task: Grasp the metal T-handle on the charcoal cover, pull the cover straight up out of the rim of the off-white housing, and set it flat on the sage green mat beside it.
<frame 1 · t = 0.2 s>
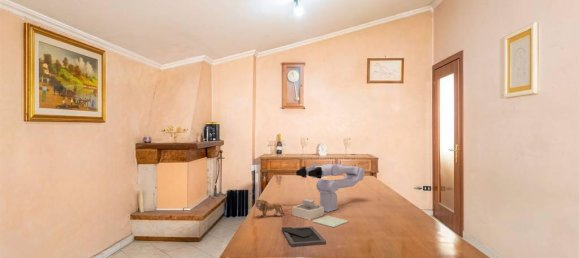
hand: (302, 173, 153), 21 cm above the table, tool horizontal, fingers open, 7 cm apart
picture frame: (302, 238, 126), on the table
housing: (308, 215, 157), on the table
grey cover: (308, 209, 156), point 3 cm above the table, touching housing
sage mat: (330, 221, 146), on the table
lion figurine: (269, 217, 154), on the table
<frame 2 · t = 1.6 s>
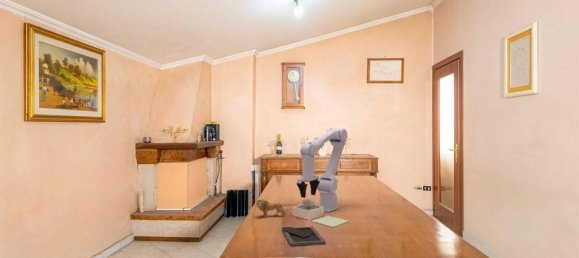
hand: (308, 196, 156), 9 cm above the table, tool pointing down, fingers open, 7 cm apart
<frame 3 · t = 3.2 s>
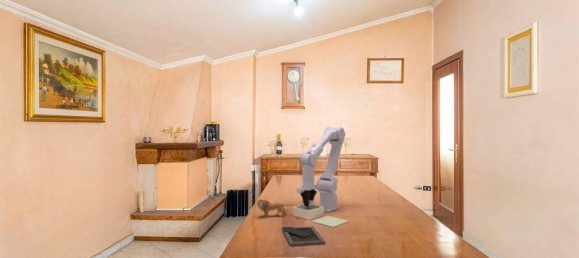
hand: (308, 205, 156), 5 cm above the table, tool pointing down, fingers closed on grey cover, 2 cm apart
grey cover: (308, 209, 156), point 3 cm above the table, touching gripper, housing
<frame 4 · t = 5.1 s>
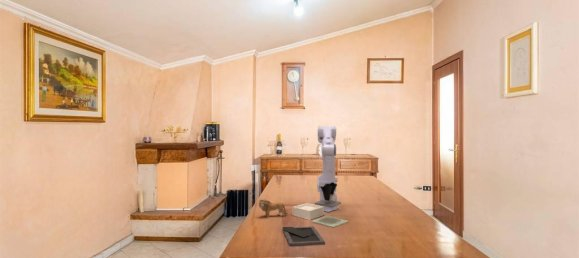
hand: (328, 199, 147), 10 cm above the table, tool pointing down, fingers closed on grey cover, 2 cm apart
grey cover: (328, 204, 147), point 8 cm above the table, touching gripper
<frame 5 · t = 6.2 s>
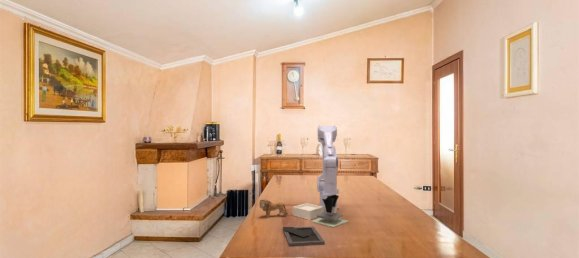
hand: (330, 211, 146), 5 cm above the table, tool pointing down, fingers closed on grey cover, 2 cm apart
grey cover: (329, 216, 146), point 2 cm above the table, touching gripper
when the fingers open (4 cm above the table, at t = 7.1 s): grey cover stays where it is, resting on sage mat.
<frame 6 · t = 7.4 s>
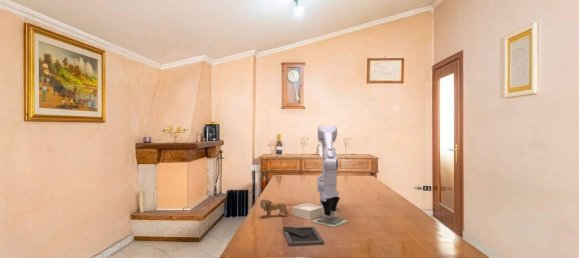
hand: (330, 213, 146), 4 cm above the table, tool pointing down, fingers open, 5 cm apart
grey cover: (330, 220, 146), resting on sage mat
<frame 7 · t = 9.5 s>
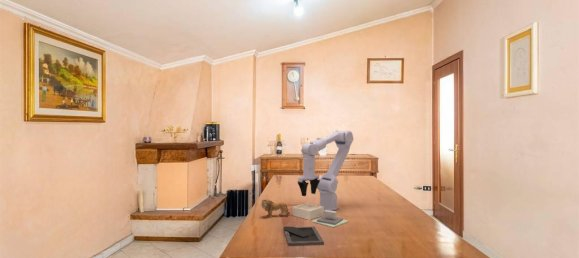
hand: (308, 194, 160), 9 cm above the table, tool pointing down, fingers open, 7 cm apart
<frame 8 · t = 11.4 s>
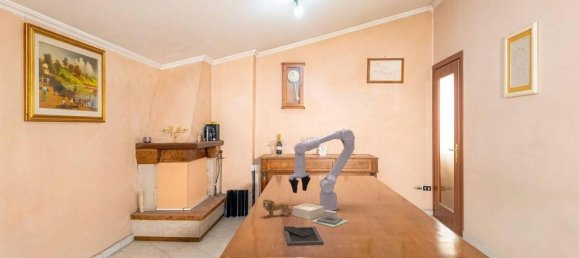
hand: (299, 191, 167), 9 cm above the table, tool pointing down, fingers open, 7 cm apart
at the end: grey cover inside the target area on the sage mat (0.1 cm from its centre), point 0.4 cm above the sage mat's base; grey cover tilted 0°; the gripper is holding nothing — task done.
